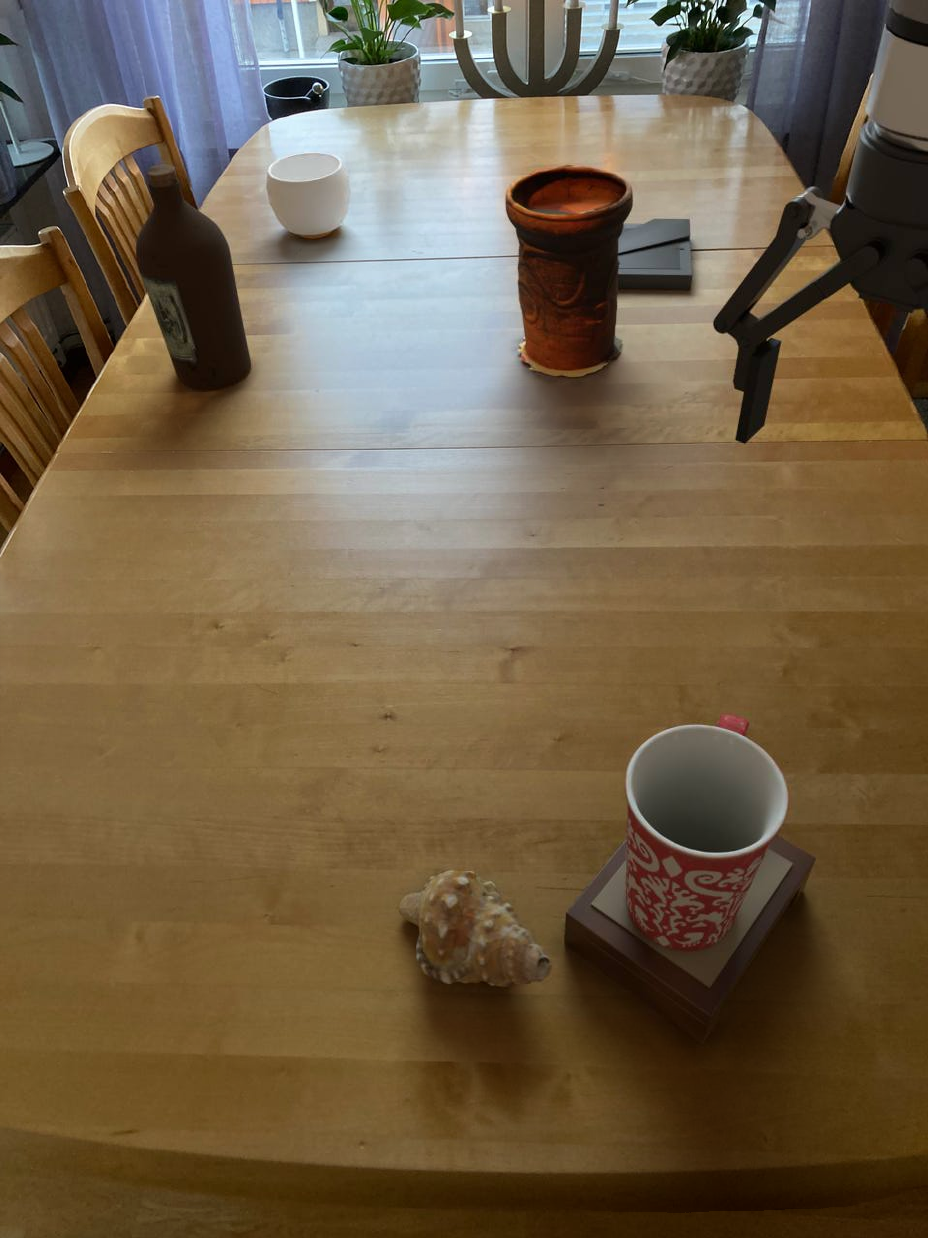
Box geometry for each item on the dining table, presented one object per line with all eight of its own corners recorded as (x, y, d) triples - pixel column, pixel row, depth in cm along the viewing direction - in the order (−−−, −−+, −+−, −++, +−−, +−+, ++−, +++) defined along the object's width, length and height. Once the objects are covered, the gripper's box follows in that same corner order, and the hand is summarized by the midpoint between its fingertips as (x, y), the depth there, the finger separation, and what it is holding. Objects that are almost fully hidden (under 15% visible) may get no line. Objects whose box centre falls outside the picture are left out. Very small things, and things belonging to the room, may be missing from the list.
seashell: (528, 917, 72) (583, 902, 64) (481, 1021, 69) (533, 1021, 60) (424, 853, 72) (465, 829, 63) (370, 954, 68) (406, 944, 59)
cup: (274, 219, 154) (261, 156, 147) (350, 209, 155) (342, 146, 148) (277, 253, 145) (264, 188, 138) (359, 242, 146) (350, 177, 139)
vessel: (491, 335, 125) (485, 177, 111) (590, 310, 129) (597, 153, 114) (536, 390, 116) (536, 226, 102) (642, 362, 119) (657, 198, 105)
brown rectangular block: (803, 890, 69) (817, 856, 66) (702, 1045, 62) (711, 1016, 59) (671, 809, 75) (677, 773, 71) (563, 943, 68) (565, 911, 64)
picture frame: (687, 237, 142) (545, 236, 144) (689, 218, 140) (546, 217, 142) (690, 289, 131) (537, 287, 134) (692, 269, 129) (537, 267, 132)
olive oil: (223, 340, 128) (172, 143, 110) (273, 367, 123) (229, 164, 105) (156, 375, 123) (91, 173, 105) (205, 404, 118) (146, 197, 100)
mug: (725, 992, 60) (762, 884, 50) (590, 929, 63) (600, 816, 54) (783, 833, 67) (824, 712, 58) (659, 785, 71) (679, 662, 61)
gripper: (1247, 150, 44) (1064, 511, 59) (751, 62, 56) (705, 381, 71) (1205, 209, 40) (1021, 579, 55) (683, 101, 52) (649, 430, 67)
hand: (843, 469), depth 63 cm, fingers open, 13 cm apart
